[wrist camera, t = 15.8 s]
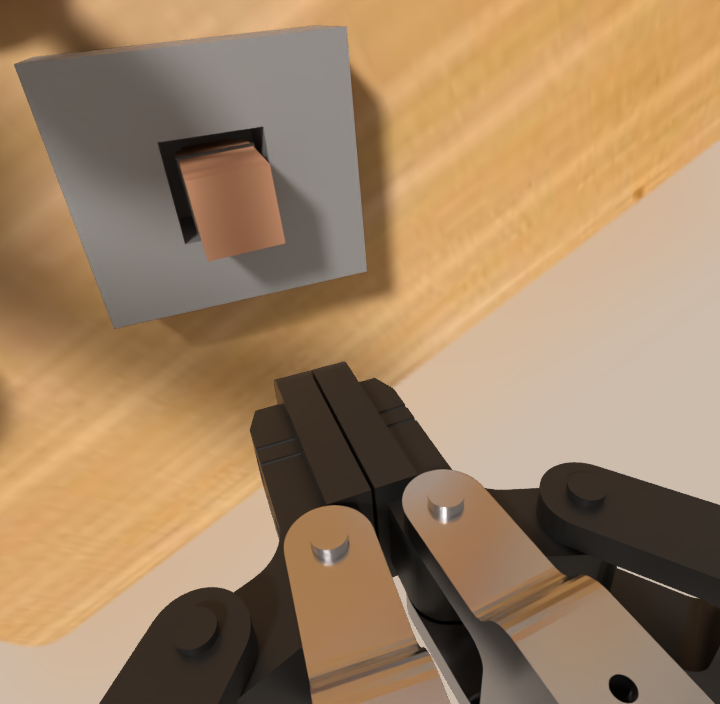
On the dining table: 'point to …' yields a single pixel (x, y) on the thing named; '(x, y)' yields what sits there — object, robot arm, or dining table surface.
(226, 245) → the peg
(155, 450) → the dining table surface
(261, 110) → the mortise board
